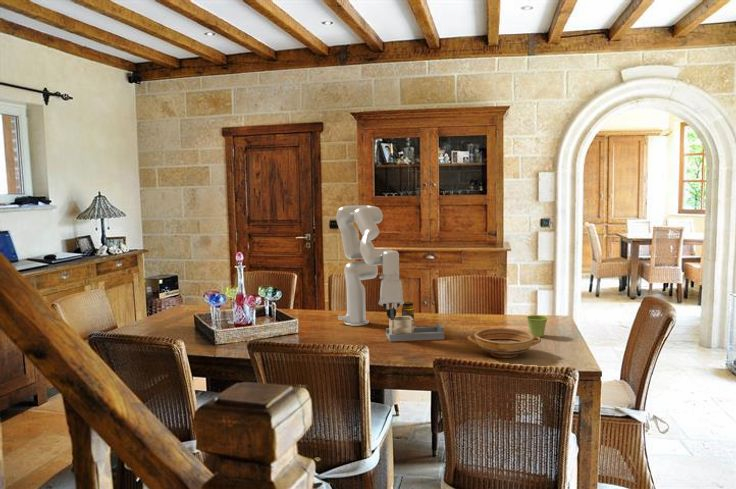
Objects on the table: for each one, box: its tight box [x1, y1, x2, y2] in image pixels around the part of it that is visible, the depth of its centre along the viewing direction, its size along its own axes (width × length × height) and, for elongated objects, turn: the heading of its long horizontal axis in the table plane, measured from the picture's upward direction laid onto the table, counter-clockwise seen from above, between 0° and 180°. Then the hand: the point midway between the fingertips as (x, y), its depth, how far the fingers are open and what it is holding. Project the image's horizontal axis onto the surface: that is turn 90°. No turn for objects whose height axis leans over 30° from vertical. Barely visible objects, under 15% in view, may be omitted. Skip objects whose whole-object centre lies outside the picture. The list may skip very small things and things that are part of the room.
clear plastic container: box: [388, 307, 415, 334], centre depth 266 cm, size 10×9×12 cm
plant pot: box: [525, 314, 549, 338], centre depth 265 cm, size 9×9×9 cm
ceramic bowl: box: [467, 327, 542, 359], centre depth 238 cm, size 30×24×8 cm
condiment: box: [401, 301, 418, 327], centre depth 286 cm, size 7×8×12 cm
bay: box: [385, 322, 445, 342], centre depth 267 cm, size 25×12×5 cm, turn 96°
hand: (391, 317), depth 265 cm, fingers closed
